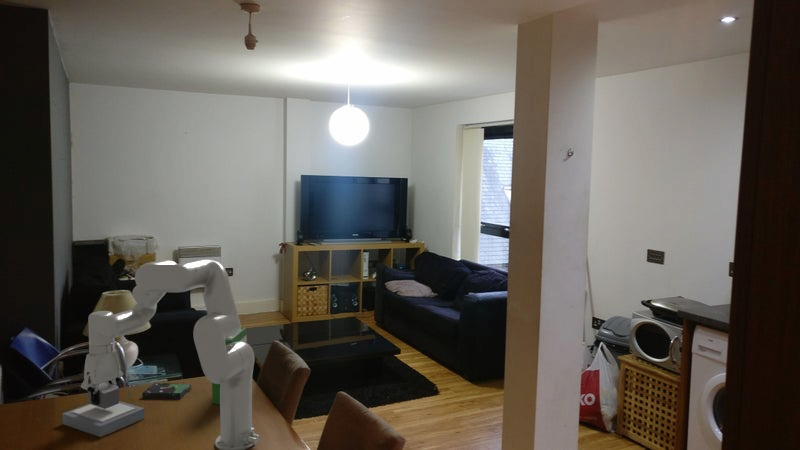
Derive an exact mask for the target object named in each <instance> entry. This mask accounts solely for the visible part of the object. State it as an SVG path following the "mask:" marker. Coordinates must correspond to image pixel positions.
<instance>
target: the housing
mask: <svg viewBox="0 0 800 450" xmlns="http://www.w3.org/2000/svg"><path fill="white" fill-rule="evenodd" d="M119 388H120V387H119V385H117V386H116V385H112V384H109V383H108V382H104V383H101V384H99V387H98V392H97V393H99V405H95V404H92V402H91V393H90V392H89V391H87V404H91V405H94V406H98V407H101V408H104V409H106V408H109V407H111V406H114V405H117V404H119V401H120V397H119V395H120V394H119V393H120V392H119V390H120V389H119Z"/></svg>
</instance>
